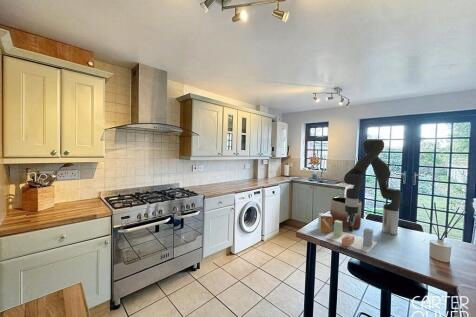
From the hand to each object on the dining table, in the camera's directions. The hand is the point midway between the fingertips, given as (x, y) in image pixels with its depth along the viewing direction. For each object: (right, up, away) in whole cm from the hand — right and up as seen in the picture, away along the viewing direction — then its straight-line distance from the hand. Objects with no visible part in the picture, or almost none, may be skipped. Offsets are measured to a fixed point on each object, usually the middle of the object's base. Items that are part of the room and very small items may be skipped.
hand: (350, 231), depth 131 cm
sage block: (-4, -6, +9) cm, 12 cm away
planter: (+14, -7, +34) cm, 38 cm away
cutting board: (+2, -8, +3) cm, 9 cm away
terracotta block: (+1, -5, +1) cm, 5 cm away
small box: (-9, -7, +18) cm, 21 cm away
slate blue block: (+9, -7, -4) cm, 12 cm away
